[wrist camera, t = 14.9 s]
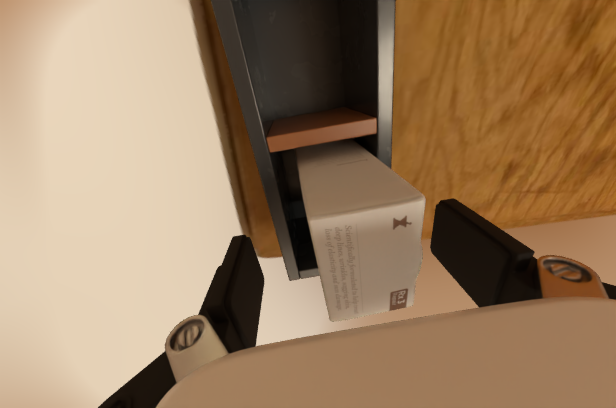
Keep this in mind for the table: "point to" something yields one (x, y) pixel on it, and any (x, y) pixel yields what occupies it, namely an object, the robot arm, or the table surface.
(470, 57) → the table surface
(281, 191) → the caddy
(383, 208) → the cosmetic box
